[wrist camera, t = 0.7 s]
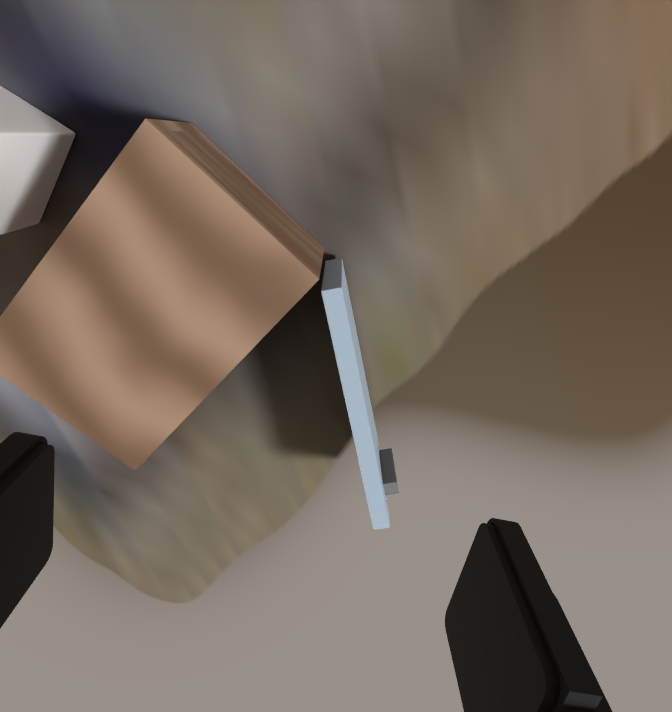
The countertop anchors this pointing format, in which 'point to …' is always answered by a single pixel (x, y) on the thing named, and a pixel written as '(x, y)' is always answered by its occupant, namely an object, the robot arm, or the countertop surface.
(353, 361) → the cabinet door
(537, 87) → the countertop surface
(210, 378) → the walnut cabinet
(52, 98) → the countertop surface
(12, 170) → the milk carton
